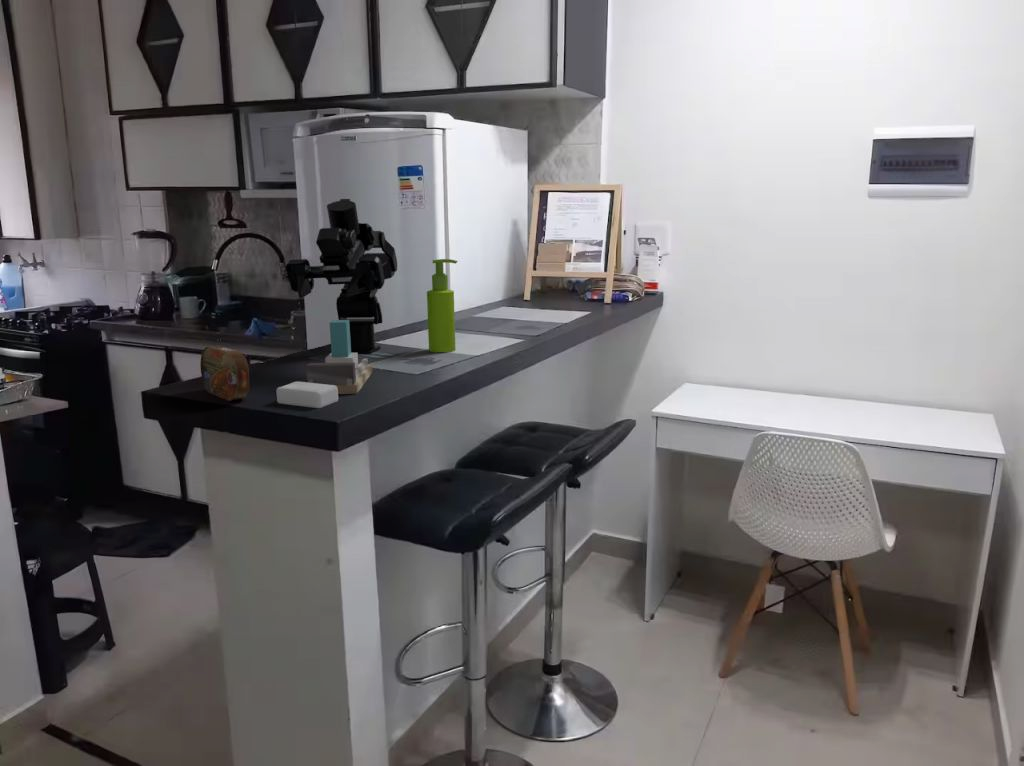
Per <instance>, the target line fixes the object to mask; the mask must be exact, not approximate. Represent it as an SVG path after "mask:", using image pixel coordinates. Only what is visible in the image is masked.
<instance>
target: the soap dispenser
mask: <svg viewBox="0 0 1024 766" xmlns="http://www.w3.org/2000/svg"><path fill="white" fill-rule="evenodd" d="M458 262H459V261H458V260H456V259H450V258H442V259H441V258H439V259H433V260H432V264H435V273H433V274H432V275H431V285H432V286H431V287H432V289H431V290H428V291H426V302H427V303H426V304H427V305H426V307H427V331H428V334H427V335H428V337H427V338H428V351H429V352H430V351H431V352H430V353H437V352H444V353H451V352H450V351H452V352H454V350H455V351H456V325H455V324H456V322H455V291H454V290H452V289H449V285H448V282H449V280H448V276H449V275H448V274H446V273H444V263H449V264H450V263H451V264H457V263H458Z"/></svg>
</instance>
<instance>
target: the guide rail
mask: <svg viewBox="0 0 1024 766" xmlns="http://www.w3.org/2000/svg"><path fill="white" fill-rule="evenodd" d="M368 363H369V361H368V358H362V360H361V361H360V362H358V366H357V367H356V368H355V362H353V363H326V362H316V363H315V362H310V363H308V364H306V365H305V367H306V380H307V382H308V383H318V384H326V385H335V386H337V388H338V395H351V394H353V395H354V394H355V395H357V394H358V393H359V391H360V390H361V389H362V387H363V386H364V385H365V383H366V382H367V380H368V379H369V377H370V376H371V375H372V373H373V364H368Z"/></svg>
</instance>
